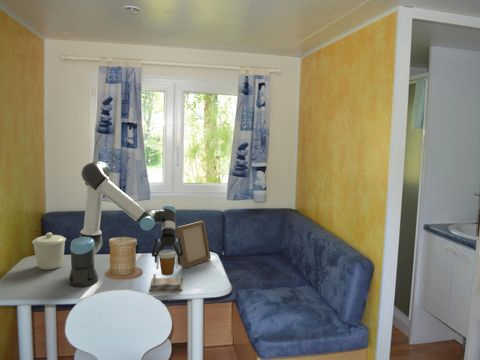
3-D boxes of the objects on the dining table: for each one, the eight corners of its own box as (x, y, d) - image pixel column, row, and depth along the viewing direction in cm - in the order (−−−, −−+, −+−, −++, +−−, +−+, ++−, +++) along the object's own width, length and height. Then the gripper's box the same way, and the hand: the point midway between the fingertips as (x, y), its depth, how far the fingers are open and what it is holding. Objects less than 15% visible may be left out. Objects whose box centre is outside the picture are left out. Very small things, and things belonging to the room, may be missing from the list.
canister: (54, 273, 224) (52, 237, 222) (26, 270, 228) (24, 235, 225) (73, 263, 242) (72, 229, 239) (46, 260, 245) (45, 227, 242)
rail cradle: (148, 291, 203) (148, 285, 203) (151, 279, 219) (151, 274, 219) (182, 290, 206) (182, 284, 205) (182, 278, 221) (182, 273, 221)
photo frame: (210, 260, 254) (210, 222, 250) (186, 269, 236) (186, 228, 233) (194, 255, 262) (194, 218, 259) (169, 263, 245) (169, 224, 242)
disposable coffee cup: (168, 268, 218) (168, 248, 217) (180, 273, 212) (180, 251, 211) (154, 273, 211) (154, 252, 209) (166, 278, 205) (166, 256, 203)
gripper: (188, 233, 226) (188, 270, 212) (148, 234, 223) (146, 271, 209) (188, 226, 220) (188, 264, 206) (147, 227, 217) (145, 265, 204)
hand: (167, 267), depth 208 cm, fingers closed on disposable coffee cup, 9 cm apart
